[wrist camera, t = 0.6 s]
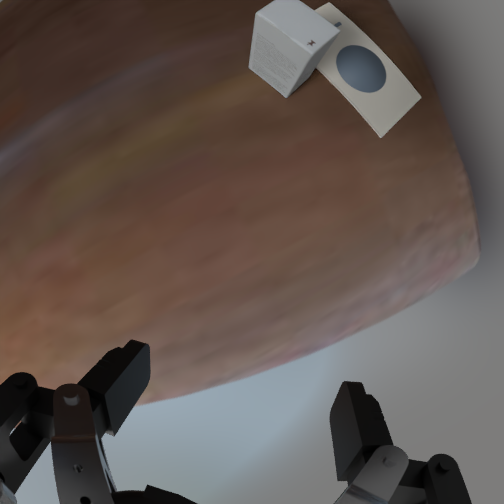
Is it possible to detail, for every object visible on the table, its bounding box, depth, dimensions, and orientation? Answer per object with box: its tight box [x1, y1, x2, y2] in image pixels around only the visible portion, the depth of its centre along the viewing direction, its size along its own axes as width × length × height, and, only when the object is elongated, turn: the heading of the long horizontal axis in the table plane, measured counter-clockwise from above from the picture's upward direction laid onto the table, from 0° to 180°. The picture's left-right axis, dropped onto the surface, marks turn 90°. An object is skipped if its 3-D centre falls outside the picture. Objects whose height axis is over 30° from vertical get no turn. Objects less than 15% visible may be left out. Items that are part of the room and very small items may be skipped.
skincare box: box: [249, 0, 340, 98], centre depth 23 cm, size 6×4×12 cm
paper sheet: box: [314, 2, 422, 138], centre depth 28 cm, size 18×10×1 cm, turn 44°
